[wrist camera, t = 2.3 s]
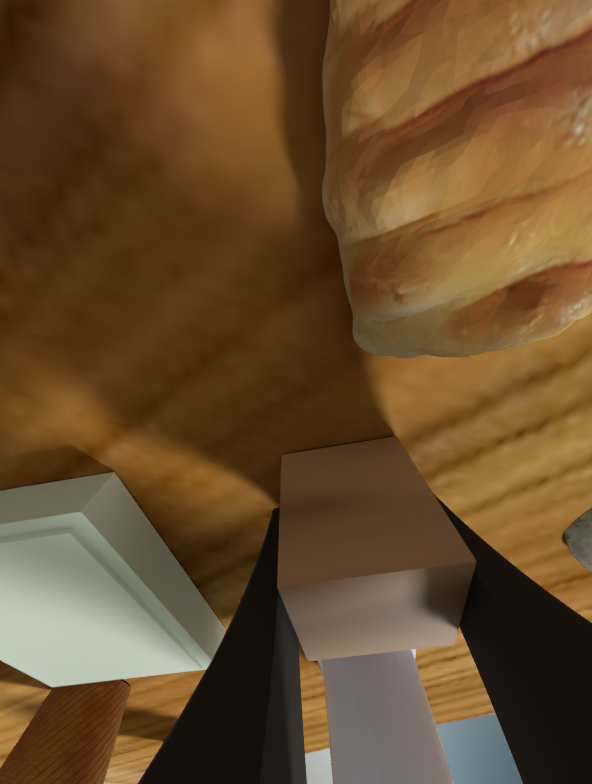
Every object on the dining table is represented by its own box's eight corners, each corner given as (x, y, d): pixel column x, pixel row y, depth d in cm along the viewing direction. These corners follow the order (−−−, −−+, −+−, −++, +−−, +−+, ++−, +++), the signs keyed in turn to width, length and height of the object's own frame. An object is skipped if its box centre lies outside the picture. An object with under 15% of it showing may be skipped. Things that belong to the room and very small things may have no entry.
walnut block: (395, 512, 13) (454, 644, 8) (300, 526, 13) (307, 661, 9) (396, 436, 10) (476, 561, 6) (281, 454, 11) (277, 587, 6)
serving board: (225, 628, 18) (217, 672, 16) (73, 647, 19) (49, 691, 17) (114, 471, 11) (76, 516, 9) (-126, 511, 12) (-209, 560, 10)
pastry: (244, -57, 5) (158, -739, 2) (606, -269, 4) (1975, -2543, 1) (352, 356, 9) (393, 410, 6) (546, 289, 8) (727, 305, 5)
